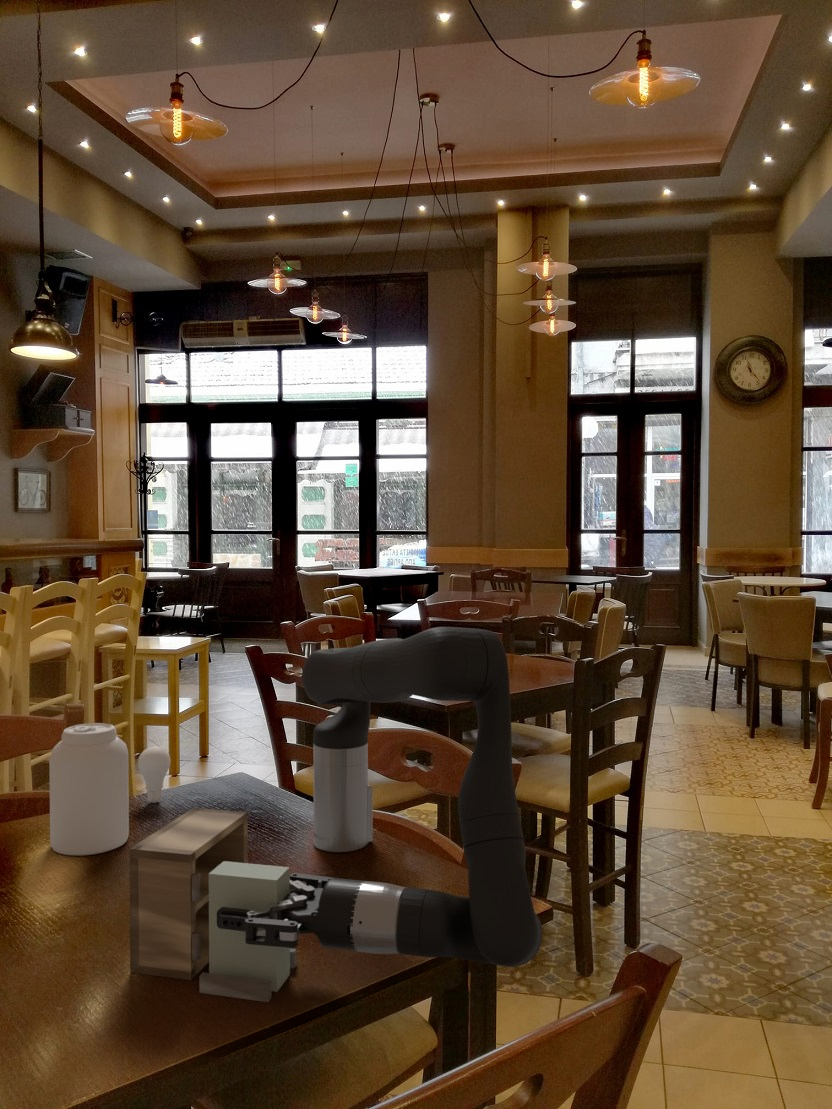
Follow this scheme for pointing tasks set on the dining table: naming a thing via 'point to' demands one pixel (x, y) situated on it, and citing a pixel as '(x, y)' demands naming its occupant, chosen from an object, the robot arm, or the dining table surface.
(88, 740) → the can
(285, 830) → the dining table surface
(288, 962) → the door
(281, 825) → the dining table surface
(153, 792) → the lightbulb
